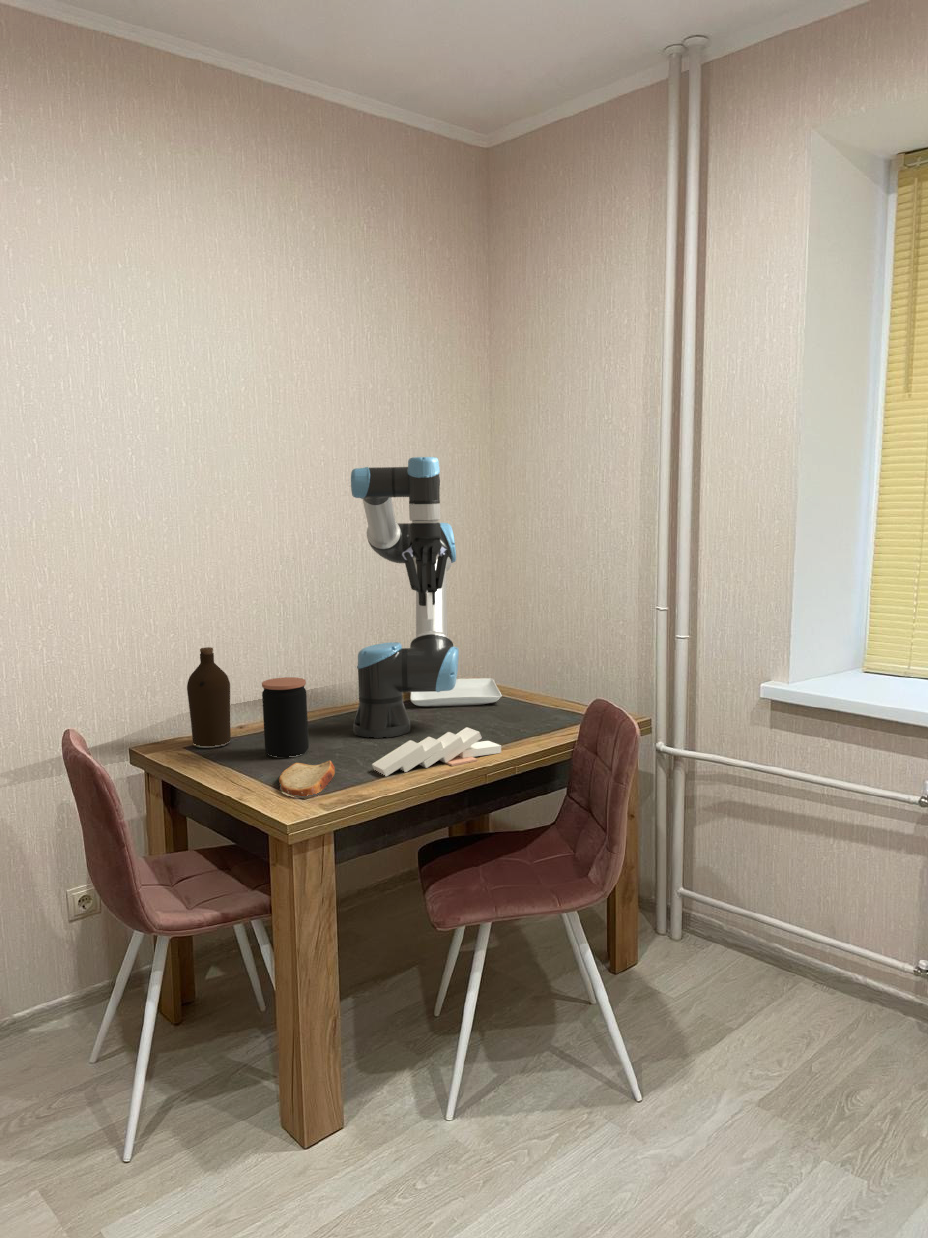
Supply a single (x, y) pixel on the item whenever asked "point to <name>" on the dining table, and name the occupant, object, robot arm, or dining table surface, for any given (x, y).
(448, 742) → the domino
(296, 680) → the coffee jar
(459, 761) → the mat
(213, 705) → the olive oil
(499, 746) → the domino
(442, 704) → the square plate
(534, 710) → the dining table surface
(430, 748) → the domino
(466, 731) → the domino
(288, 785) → the slice of bread
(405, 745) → the domino
